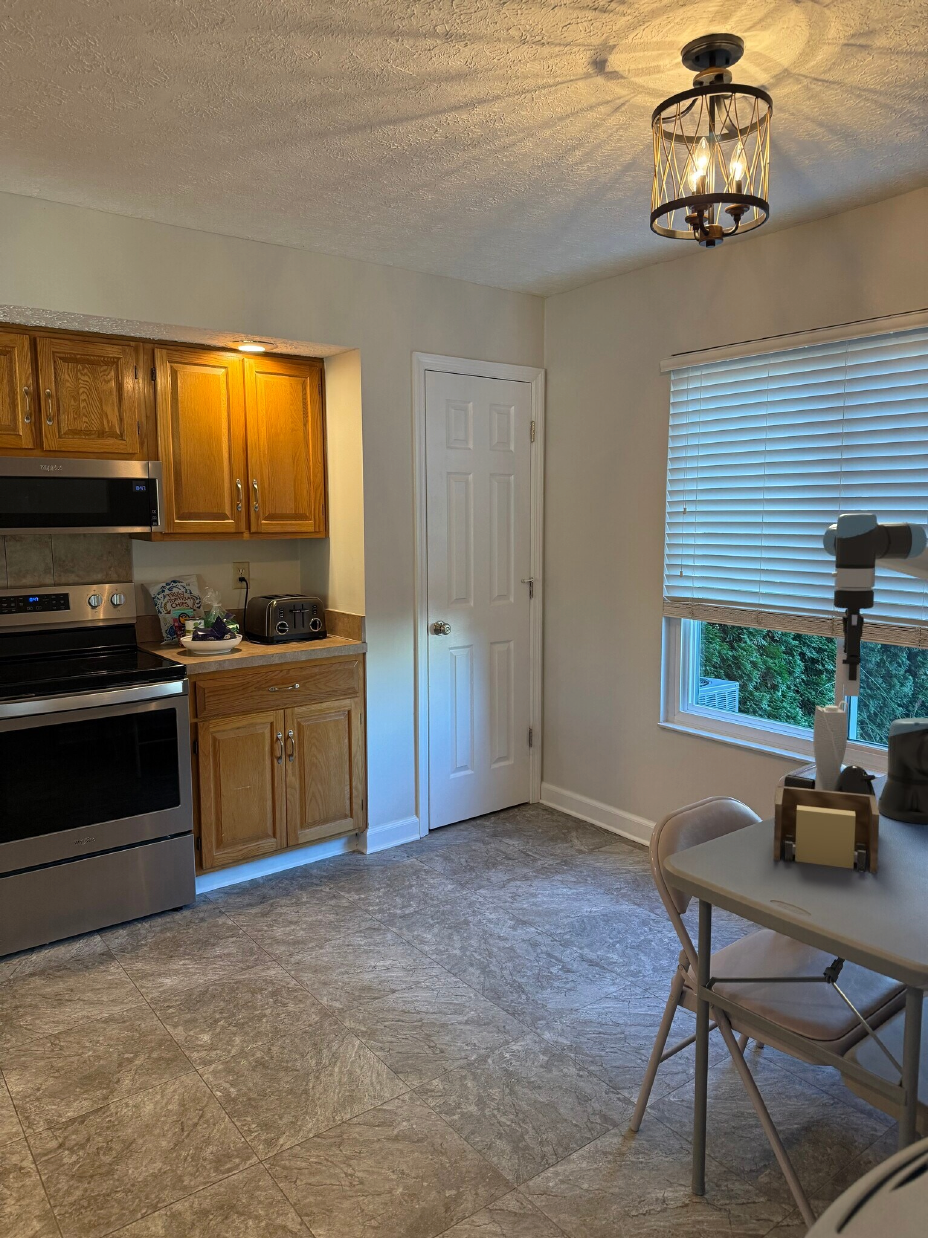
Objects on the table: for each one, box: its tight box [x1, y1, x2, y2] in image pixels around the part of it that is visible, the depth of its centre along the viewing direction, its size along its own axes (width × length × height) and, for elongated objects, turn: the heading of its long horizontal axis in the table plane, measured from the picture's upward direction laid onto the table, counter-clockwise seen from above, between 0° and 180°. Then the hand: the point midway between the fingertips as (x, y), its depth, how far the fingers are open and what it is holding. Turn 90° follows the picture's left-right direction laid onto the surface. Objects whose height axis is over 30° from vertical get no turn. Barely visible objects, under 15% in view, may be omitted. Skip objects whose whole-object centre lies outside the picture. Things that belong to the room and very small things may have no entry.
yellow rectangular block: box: [792, 805, 858, 870], centre depth 176 cm, size 15×3×11 cm, turn 68°
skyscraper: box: [812, 700, 849, 791], centre depth 204 cm, size 8×8×28 cm
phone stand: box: [783, 774, 815, 789], centre depth 196 cm, size 9×6×12 cm, turn 140°
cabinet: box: [773, 785, 880, 874], centre depth 180 cm, size 19×13×12 cm
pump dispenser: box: [833, 764, 878, 802], centre depth 194 cm, size 10×10×15 cm
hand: (850, 690), depth 180 cm, fingers open, 13 cm apart
